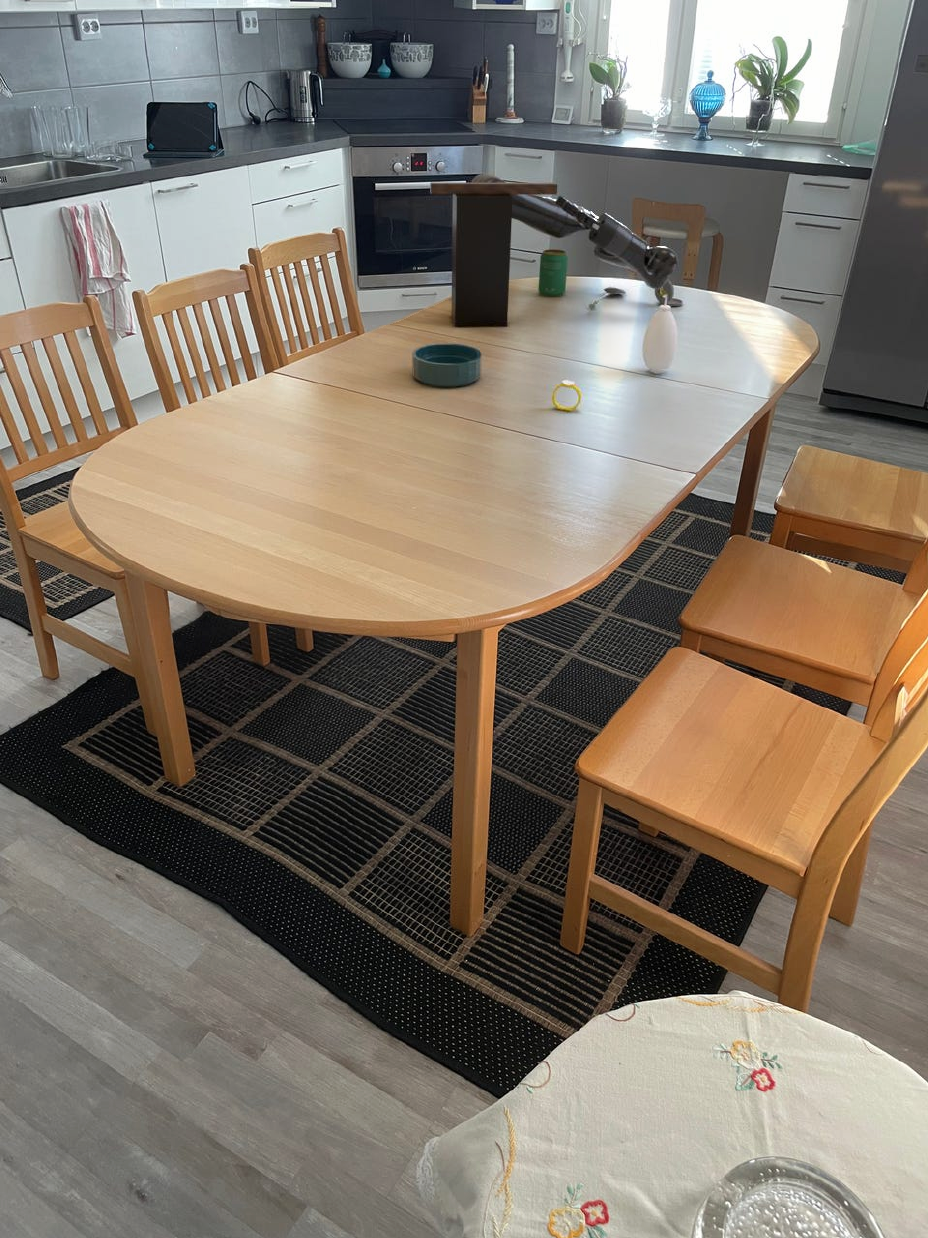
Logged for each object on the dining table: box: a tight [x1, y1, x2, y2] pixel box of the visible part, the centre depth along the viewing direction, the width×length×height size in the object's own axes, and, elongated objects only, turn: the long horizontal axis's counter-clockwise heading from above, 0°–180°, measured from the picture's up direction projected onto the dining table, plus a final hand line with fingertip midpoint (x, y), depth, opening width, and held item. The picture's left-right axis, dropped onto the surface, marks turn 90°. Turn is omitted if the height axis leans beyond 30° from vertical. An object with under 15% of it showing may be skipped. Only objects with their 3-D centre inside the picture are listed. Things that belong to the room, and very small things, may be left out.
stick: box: [429, 181, 558, 196], centre depth 237 cm, size 32×2×2 cm, turn 96°
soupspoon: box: [588, 286, 627, 310], centre depth 275 cm, size 22×3×7 cm
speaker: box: [450, 194, 513, 328], centre depth 246 cm, size 14×10×32 cm
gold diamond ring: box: [551, 379, 582, 412], centre depth 198 cm, size 6×3×6 cm, turn 75°
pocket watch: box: [654, 279, 683, 307], centre depth 271 cm, size 8×8×10 cm
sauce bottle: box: [642, 293, 679, 375], centre depth 216 cm, size 8×8×18 cm
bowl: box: [411, 343, 483, 388], centre depth 214 cm, size 16×16×6 cm
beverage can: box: [538, 248, 569, 298], centre depth 278 cm, size 8×8×12 cm
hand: (560, 201), depth 241 cm, fingers open, 8 cm apart
